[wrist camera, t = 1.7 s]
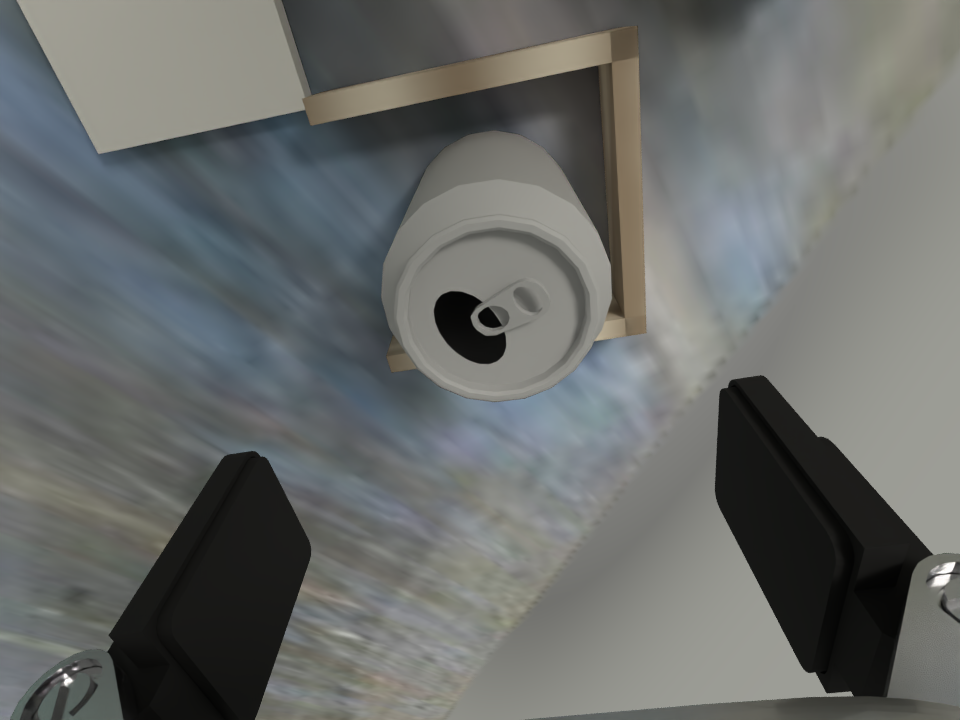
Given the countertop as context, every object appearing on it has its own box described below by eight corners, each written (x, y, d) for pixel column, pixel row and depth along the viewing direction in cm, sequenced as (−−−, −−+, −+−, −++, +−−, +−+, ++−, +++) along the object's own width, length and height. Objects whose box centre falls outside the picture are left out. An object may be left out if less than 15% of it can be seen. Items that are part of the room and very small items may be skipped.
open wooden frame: (620, 27, 22) (637, 25, 19) (632, 306, 28) (646, 333, 26) (322, 91, 23) (301, 98, 21) (399, 343, 30) (391, 372, 27)
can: (385, 192, 26) (317, 295, 15) (513, 90, 23) (535, 132, 13) (476, 306, 29) (470, 455, 18) (597, 227, 26) (668, 347, 16)
